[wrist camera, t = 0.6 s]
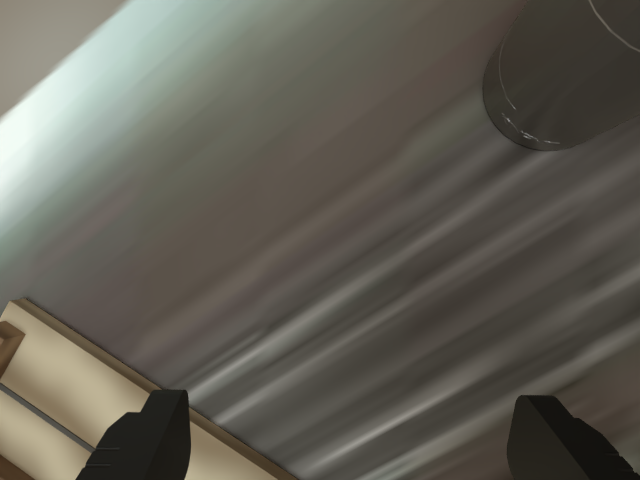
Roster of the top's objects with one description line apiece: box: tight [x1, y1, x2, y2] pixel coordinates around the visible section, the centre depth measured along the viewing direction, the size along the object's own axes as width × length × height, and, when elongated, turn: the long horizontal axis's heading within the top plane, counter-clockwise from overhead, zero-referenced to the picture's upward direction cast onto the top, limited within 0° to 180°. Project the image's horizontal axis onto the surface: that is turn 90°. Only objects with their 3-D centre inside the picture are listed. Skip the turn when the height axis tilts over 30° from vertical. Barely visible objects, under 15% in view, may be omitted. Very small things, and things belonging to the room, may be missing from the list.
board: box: [0, 299, 298, 480], centre depth 32 cm, size 12×30×4 cm, turn 59°
